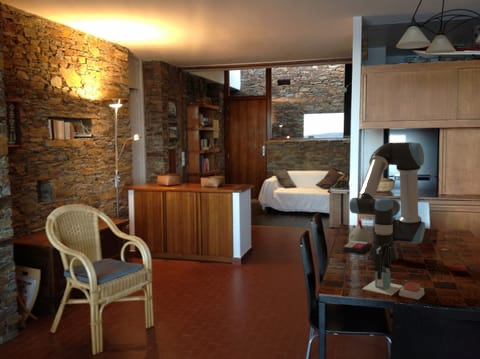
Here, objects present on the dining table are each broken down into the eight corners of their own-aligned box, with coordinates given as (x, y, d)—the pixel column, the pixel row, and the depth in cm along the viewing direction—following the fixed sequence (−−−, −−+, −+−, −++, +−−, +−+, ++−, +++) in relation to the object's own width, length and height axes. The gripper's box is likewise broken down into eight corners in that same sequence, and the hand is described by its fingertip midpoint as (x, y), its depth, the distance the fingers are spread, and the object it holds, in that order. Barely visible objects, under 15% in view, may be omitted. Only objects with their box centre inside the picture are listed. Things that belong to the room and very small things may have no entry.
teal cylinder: (379, 284, 200) (379, 266, 200) (390, 286, 197) (390, 267, 197) (375, 287, 197) (375, 268, 196) (386, 289, 193) (386, 270, 193)
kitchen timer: (369, 241, 284) (369, 218, 282) (373, 247, 270) (373, 222, 269) (347, 241, 285) (347, 218, 284) (350, 246, 271) (350, 222, 270)
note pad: (374, 281, 206) (375, 280, 206) (402, 286, 198) (402, 285, 198) (362, 289, 196) (362, 288, 196) (391, 295, 187) (391, 294, 187)
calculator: (343, 246, 260) (351, 239, 273) (343, 253, 261) (351, 246, 274) (361, 248, 255) (369, 241, 267) (361, 255, 255) (369, 248, 268)
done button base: (405, 290, 194) (405, 284, 193) (424, 294, 189) (424, 288, 188) (399, 295, 187) (399, 289, 187) (418, 299, 182) (418, 293, 182)
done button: (407, 285, 191) (408, 281, 191) (419, 288, 188) (419, 283, 188) (403, 288, 187) (404, 284, 187) (416, 291, 184) (416, 286, 184)
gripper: (383, 228, 204) (382, 277, 206) (366, 236, 190) (366, 288, 192) (399, 230, 200) (398, 280, 202) (383, 238, 185) (383, 291, 187)
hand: (382, 284), depth 197 cm, fingers open, 6 cm apart
